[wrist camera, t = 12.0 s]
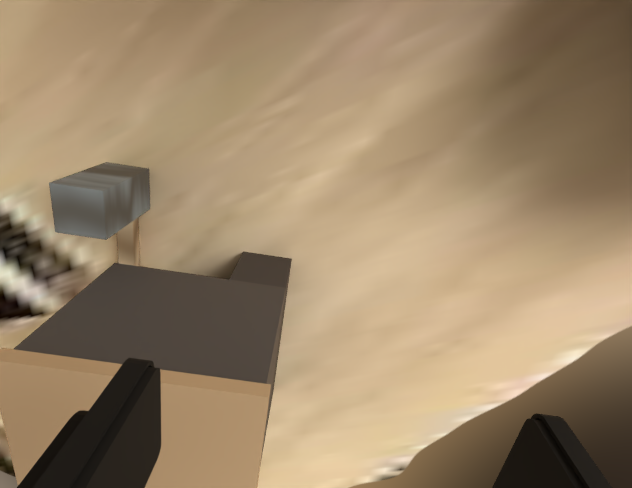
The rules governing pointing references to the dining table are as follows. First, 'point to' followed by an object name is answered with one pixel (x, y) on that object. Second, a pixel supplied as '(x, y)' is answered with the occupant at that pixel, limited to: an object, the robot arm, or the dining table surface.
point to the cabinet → (159, 366)
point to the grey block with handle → (103, 205)
